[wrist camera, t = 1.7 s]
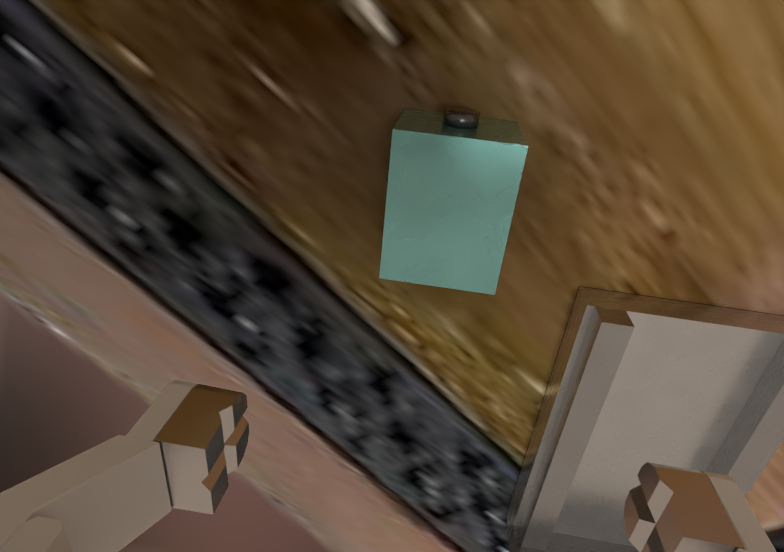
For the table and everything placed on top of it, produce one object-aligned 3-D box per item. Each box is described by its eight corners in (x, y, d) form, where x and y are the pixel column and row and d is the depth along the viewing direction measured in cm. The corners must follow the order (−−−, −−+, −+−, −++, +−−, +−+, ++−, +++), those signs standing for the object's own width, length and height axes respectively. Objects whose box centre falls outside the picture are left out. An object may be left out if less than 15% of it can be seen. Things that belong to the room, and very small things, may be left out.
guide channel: (506, 514, 37) (513, 596, 32) (579, 286, 28) (606, 351, 22) (669, 543, 36) (703, 632, 31) (803, 318, 27) (886, 393, 21)
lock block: (392, 236, 28) (379, 278, 23) (406, 95, 24) (394, 114, 20) (489, 249, 27) (494, 294, 23) (519, 108, 24) (531, 130, 19)
